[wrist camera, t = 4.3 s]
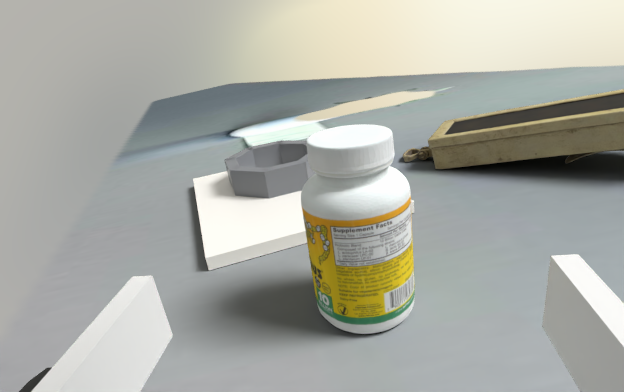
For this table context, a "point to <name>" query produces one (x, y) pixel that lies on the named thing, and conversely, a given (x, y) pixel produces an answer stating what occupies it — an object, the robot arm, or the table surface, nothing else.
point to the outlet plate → (254, 203)
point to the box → (529, 133)
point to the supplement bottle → (359, 229)
